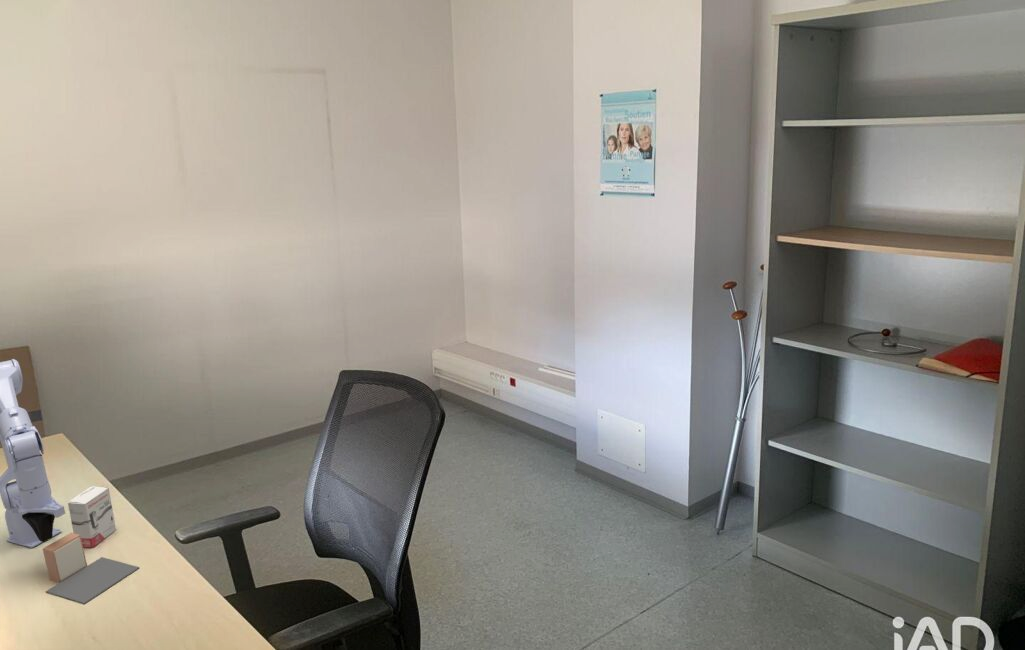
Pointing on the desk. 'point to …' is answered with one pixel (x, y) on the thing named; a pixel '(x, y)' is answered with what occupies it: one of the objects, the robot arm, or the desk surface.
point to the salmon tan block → (64, 557)
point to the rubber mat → (92, 580)
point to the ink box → (92, 515)
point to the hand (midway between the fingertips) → (46, 539)
